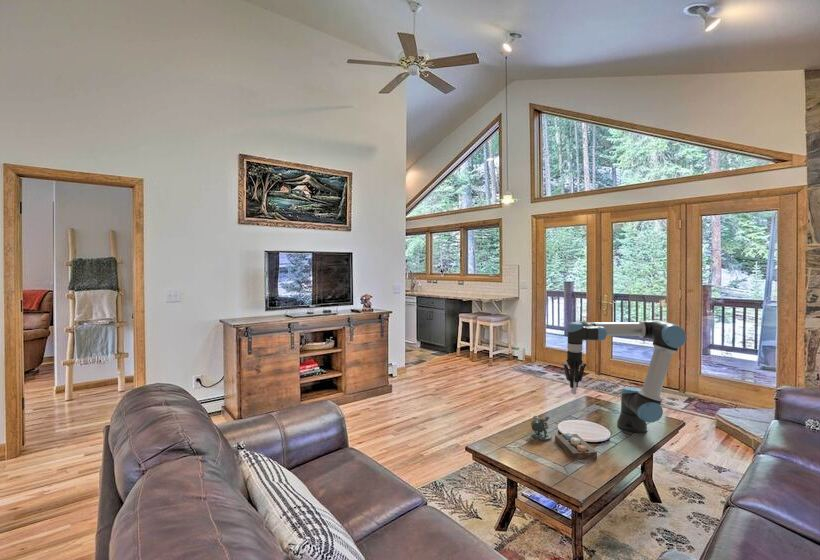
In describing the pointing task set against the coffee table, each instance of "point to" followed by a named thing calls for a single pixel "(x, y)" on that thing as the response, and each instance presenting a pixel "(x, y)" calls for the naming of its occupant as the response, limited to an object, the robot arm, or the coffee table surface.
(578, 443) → the button cream
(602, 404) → the coffee table surface
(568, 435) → the button slate
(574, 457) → the button board
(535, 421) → the figurine
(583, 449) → the button terracotta
